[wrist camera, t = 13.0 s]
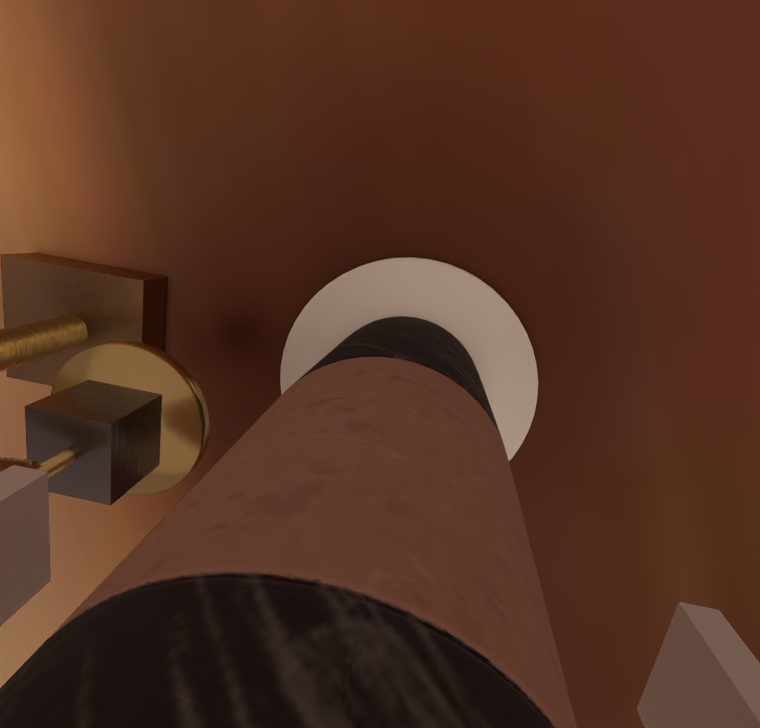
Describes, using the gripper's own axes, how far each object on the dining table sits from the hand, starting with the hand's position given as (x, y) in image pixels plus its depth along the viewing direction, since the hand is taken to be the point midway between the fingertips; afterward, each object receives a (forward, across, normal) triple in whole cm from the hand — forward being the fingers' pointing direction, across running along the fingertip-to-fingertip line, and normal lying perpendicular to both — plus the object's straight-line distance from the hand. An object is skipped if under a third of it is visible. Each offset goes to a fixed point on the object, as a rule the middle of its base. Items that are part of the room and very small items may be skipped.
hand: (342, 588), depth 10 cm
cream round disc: (+14, +1, 0) cm, 15 cm away
